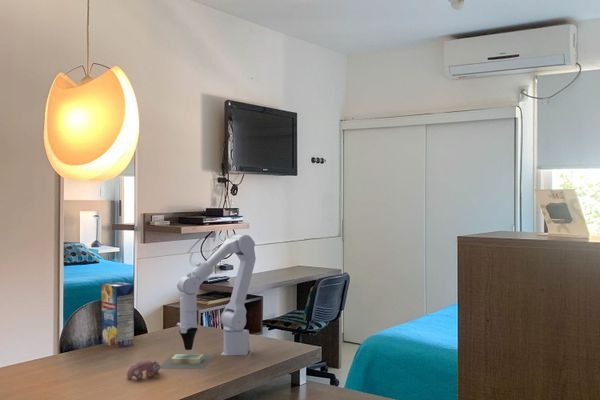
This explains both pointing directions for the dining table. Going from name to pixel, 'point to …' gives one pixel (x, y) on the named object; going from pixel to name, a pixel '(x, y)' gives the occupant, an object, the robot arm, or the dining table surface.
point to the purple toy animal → (143, 369)
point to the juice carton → (118, 314)
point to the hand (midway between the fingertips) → (188, 349)
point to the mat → (202, 365)
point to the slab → (187, 358)
